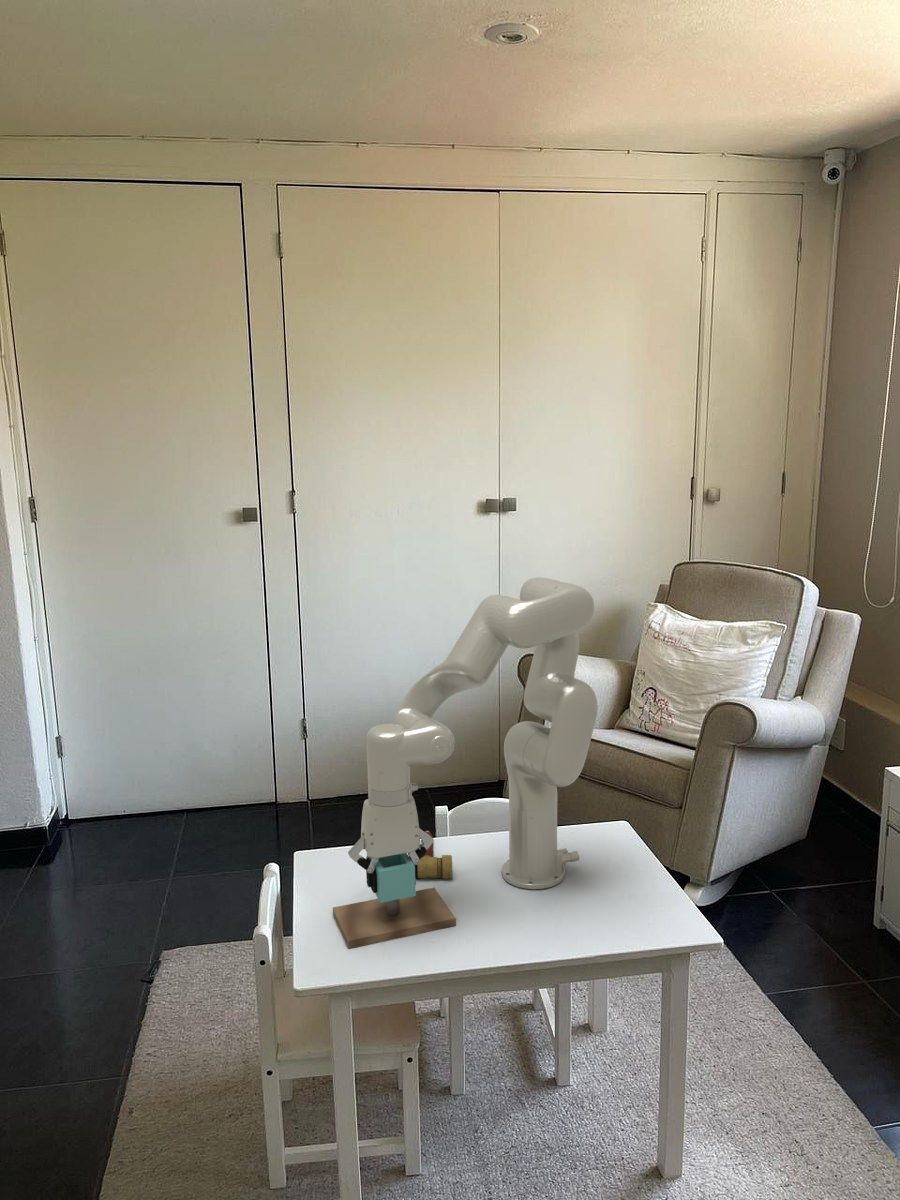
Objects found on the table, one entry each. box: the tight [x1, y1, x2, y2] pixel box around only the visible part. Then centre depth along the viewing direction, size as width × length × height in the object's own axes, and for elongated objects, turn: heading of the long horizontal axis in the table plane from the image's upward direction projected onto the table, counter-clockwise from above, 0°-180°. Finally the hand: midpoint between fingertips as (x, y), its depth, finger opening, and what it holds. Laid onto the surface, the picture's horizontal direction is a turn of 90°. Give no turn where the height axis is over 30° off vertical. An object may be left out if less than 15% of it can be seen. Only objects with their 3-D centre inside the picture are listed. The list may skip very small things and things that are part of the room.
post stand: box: [332, 887, 457, 949], centre depth 170 cm, size 20×12×8 cm, turn 110°
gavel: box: [417, 830, 453, 880], centre depth 194 cm, size 21×5×10 cm
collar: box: [374, 853, 417, 903], centre depth 169 cm, size 7×7×6 cm
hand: (392, 884), depth 169 cm, fingers closed on collar, 6 cm apart
